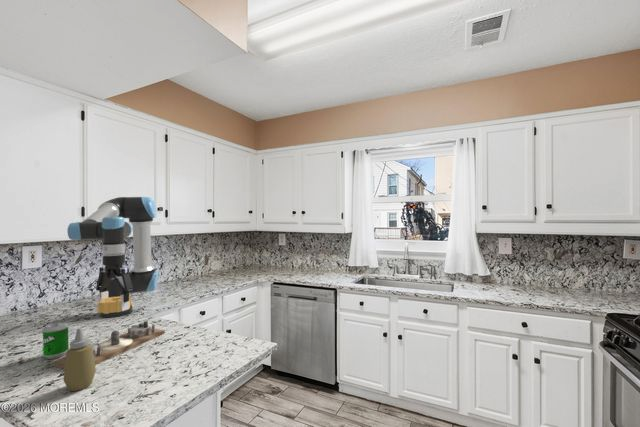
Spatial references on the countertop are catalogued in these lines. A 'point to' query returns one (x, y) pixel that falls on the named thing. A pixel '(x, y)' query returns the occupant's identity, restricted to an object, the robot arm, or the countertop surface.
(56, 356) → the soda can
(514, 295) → the countertop surface
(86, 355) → the squeeze bottle
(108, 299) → the ochre gear
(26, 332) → the countertop surface
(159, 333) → the gear board
